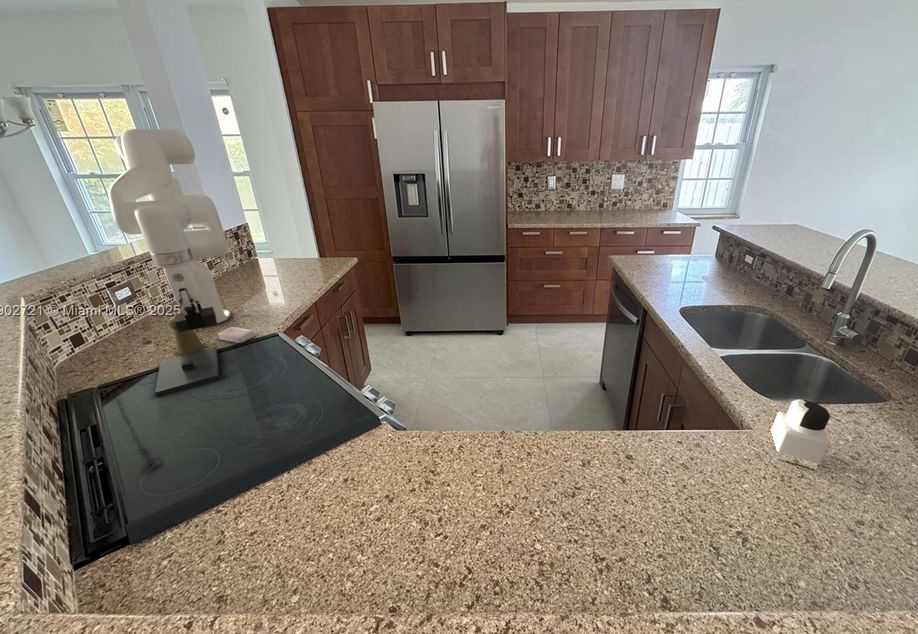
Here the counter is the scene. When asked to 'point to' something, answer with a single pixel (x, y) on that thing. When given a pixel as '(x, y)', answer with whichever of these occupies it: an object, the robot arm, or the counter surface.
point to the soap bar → (236, 335)
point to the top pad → (206, 314)
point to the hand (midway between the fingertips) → (197, 322)
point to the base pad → (187, 371)
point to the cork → (185, 339)
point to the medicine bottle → (802, 431)
